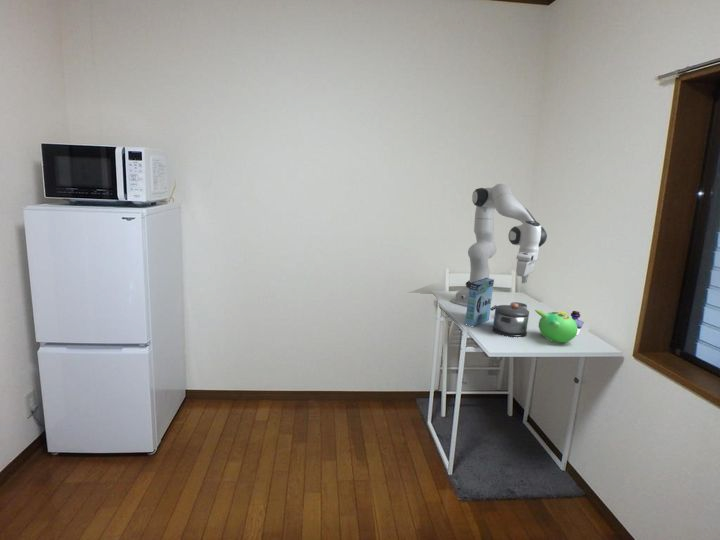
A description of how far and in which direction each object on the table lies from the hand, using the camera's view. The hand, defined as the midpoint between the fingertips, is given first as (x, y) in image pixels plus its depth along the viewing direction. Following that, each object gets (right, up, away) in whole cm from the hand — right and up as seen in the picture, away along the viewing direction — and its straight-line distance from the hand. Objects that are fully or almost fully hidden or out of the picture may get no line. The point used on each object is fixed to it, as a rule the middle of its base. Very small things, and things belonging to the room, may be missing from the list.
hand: (524, 282), depth 216 cm
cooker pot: (-5, -25, +7) cm, 27 cm away
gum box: (-18, -22, +20) cm, 35 cm away
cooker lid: (-5, -15, +6) cm, 17 cm away
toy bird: (+14, -28, -2) cm, 32 cm away
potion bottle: (+29, -27, +10) cm, 40 cm away
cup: (+5, -22, +25) cm, 34 cm away
